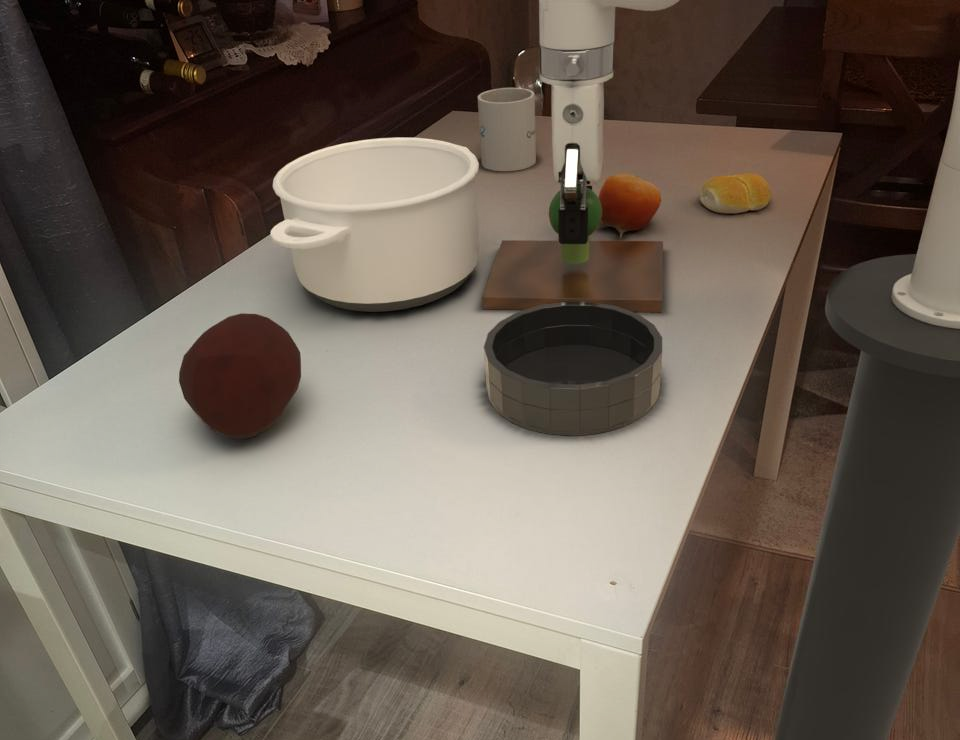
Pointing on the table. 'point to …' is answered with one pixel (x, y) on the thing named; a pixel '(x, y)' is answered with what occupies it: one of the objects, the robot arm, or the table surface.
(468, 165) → the pot
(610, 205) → the fruit
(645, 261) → the board
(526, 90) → the mug
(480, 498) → the table surface
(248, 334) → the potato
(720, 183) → the bread roll
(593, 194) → the broccoli
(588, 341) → the pan
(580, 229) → the robot arm
